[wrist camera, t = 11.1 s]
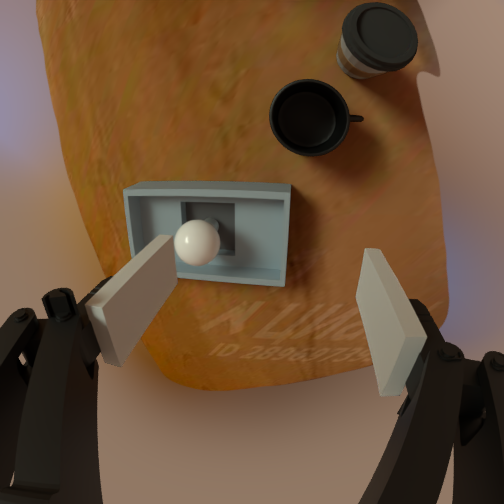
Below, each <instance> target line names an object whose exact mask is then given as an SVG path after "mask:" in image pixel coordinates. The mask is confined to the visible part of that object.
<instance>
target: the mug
mask: <svg viewBox="0 0 504 504" xmlns="http://www.w3.org/2000/svg"><path fill="white" fill-rule="evenodd" d="M269 120H270V125H271V129H272V131H273V133H274V135H275V137H276V138H277V140H278V141H279V142H280V143H281V144H282V145H283V146H284V147H285V148H287V149H288V150H290V151H292V152H294V153H296V154H299V155H303V156H311V157H313V156H320V155H324V154H327V153H329V152H331V151H333V150H334V149H336V148H337V147H338V146H339V145H340V144H341V143H342V142H343V140H344V139H345V137H346V135H347V133H348V130H349V125H350V122H362V121H363V120H364V118H363V117H362V116H359V115H350V114H349V109H348V106H347V104H346V102H345V100H344V98H343V97H342V95H341V94H340V93H339V92H338V91H337V90H336V89H334V88H333V87H332V86H330V85H329V84H327V83H324V82H322V81H319V80H314V79H302V80H297V81H294V82H292V83H289V84H288V85H286V86H284V87H283V88H282V89H281V90H280V91H279V92H278V93H277V94H276V96H275V97H274V99H273V101H272V104H271V107H270V112H269Z"/></svg>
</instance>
